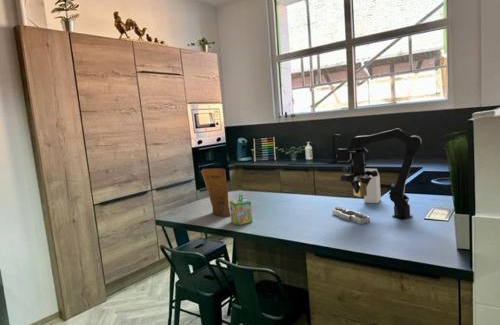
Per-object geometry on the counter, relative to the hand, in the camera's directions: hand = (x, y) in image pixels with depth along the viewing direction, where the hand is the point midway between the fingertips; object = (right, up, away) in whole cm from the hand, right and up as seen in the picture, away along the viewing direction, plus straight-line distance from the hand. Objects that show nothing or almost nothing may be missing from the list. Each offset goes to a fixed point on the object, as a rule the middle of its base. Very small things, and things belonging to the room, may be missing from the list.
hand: (360, 192), depth 169 cm
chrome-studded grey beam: (-5, -13, -1) cm, 14 cm away
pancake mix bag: (-73, -16, +29) cm, 80 cm away
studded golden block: (0, -2, 0) cm, 2 cm away
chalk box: (-59, -17, +10) cm, 63 cm away
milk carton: (+15, -7, +23) cm, 29 cm away
